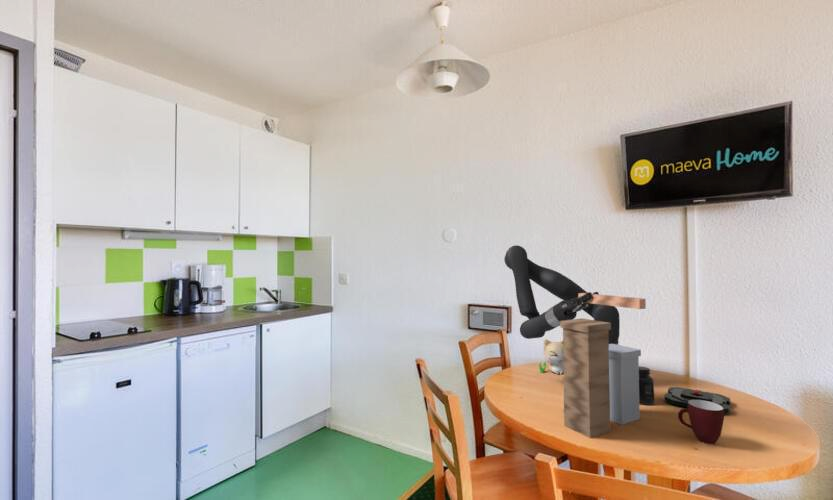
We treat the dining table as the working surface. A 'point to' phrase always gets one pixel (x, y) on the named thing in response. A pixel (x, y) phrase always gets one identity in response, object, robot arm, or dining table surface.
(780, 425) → the dining table surface
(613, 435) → the dining table surface
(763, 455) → the dining table surface
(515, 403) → the dining table surface
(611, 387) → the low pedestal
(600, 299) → the terracotta bar
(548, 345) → the kitten
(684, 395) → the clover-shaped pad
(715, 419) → the mug
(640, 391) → the supplement bottle
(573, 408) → the tall pedestal
